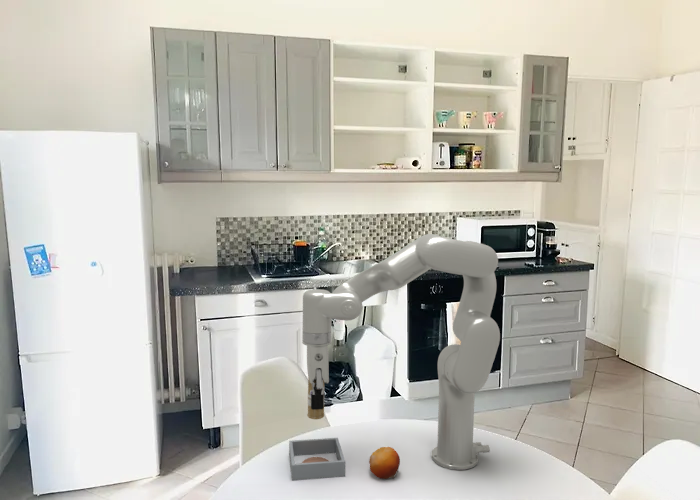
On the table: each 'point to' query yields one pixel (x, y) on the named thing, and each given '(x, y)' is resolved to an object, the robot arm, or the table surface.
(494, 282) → the robot arm
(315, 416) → the sprinkles bottle
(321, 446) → the grey square tray
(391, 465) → the fruit
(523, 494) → the table surface
